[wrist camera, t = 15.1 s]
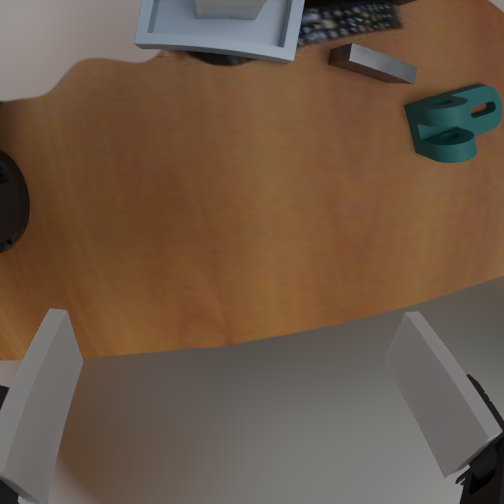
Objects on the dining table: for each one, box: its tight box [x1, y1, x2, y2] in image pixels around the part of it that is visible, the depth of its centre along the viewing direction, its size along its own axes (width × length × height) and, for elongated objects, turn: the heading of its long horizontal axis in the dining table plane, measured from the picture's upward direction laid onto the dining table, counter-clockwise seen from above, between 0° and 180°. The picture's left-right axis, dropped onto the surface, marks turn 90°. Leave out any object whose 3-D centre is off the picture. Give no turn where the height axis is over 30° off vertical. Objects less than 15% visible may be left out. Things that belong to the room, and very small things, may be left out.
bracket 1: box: [329, 0, 417, 84], centre depth 26 cm, size 8×14×6 cm, turn 171°
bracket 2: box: [404, 84, 502, 163], centre depth 32 cm, size 18×7×8 cm, turn 113°
